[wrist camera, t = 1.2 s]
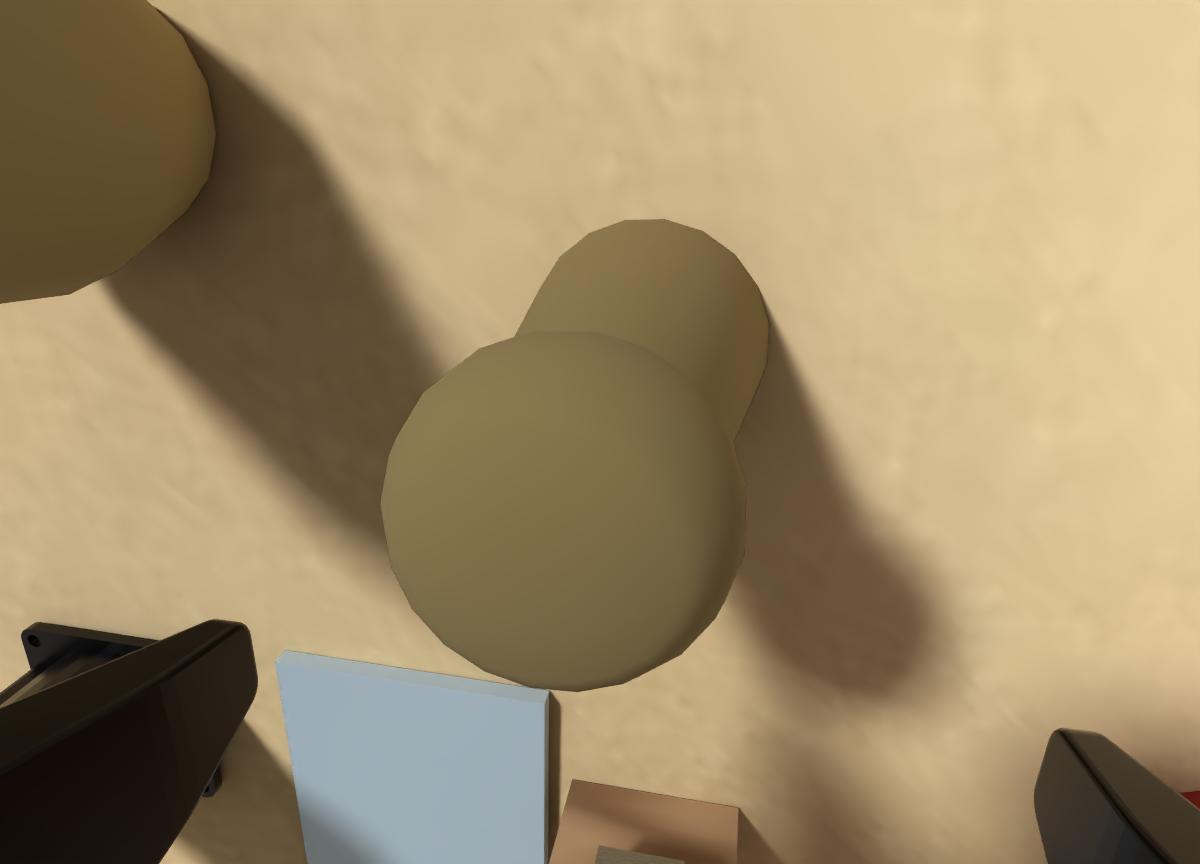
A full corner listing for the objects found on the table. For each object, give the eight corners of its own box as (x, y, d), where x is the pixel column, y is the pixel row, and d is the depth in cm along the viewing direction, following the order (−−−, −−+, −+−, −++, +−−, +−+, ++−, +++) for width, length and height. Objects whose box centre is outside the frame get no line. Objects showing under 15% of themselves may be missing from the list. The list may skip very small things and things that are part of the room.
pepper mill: (643, 162, 18) (502, 222, 8) (822, 342, 19) (894, 598, 9) (485, 340, 21) (226, 555, 11) (650, 493, 21) (555, 829, 11)
